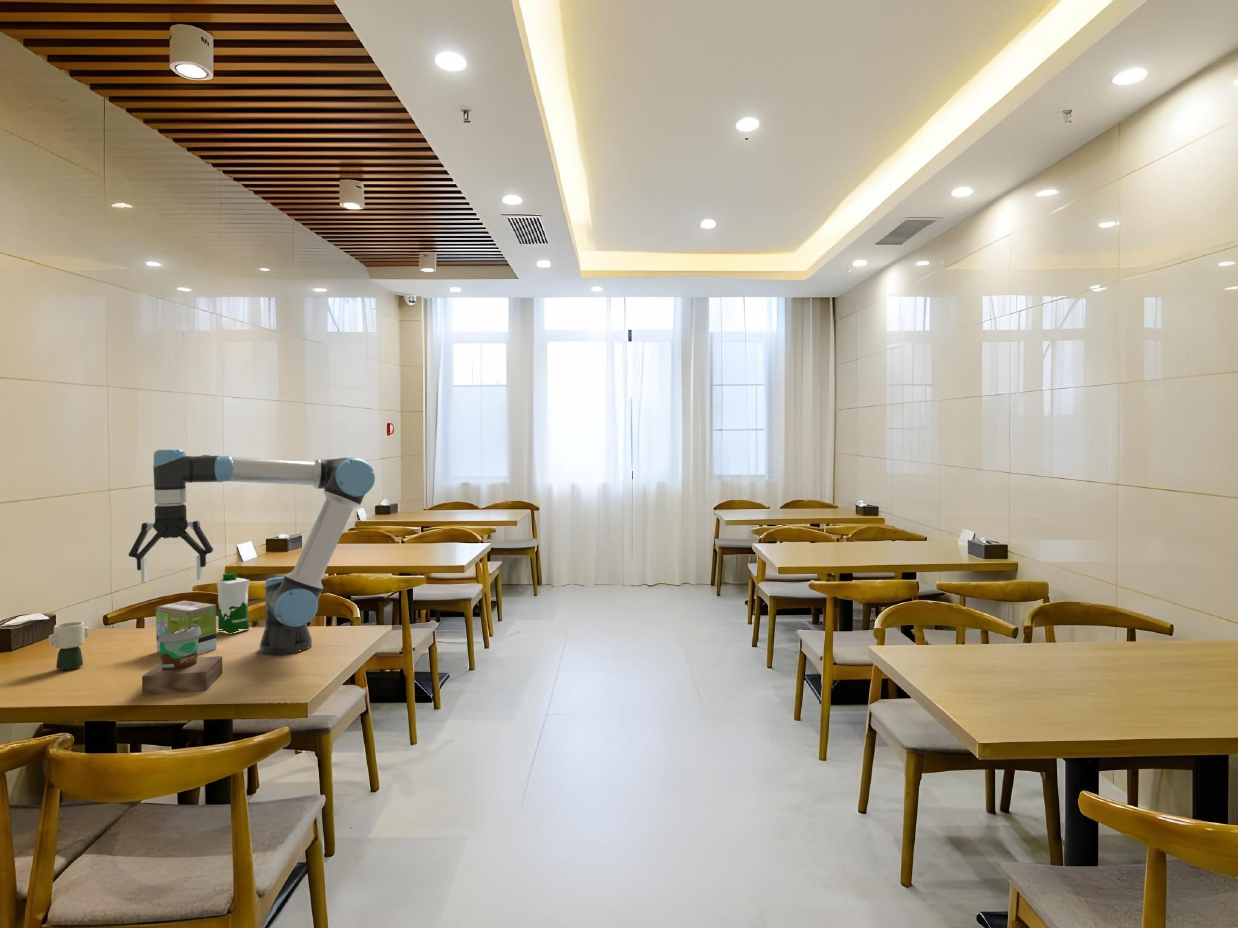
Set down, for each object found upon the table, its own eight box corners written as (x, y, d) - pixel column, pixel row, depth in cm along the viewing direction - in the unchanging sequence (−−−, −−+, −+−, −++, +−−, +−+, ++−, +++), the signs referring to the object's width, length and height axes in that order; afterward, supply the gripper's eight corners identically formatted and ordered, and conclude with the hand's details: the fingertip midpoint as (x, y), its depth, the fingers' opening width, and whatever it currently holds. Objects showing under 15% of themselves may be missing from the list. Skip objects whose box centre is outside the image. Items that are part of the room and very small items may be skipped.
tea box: (155, 652, 228) (154, 605, 228) (184, 644, 237) (184, 599, 237) (188, 657, 222) (188, 609, 222) (217, 649, 231) (217, 603, 231)
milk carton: (238, 627, 260) (237, 571, 260) (253, 630, 255) (252, 573, 255) (214, 632, 253) (213, 575, 252) (228, 635, 248) (227, 577, 247)
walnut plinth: (222, 673, 206) (222, 655, 206) (206, 690, 192) (206, 671, 192) (163, 677, 203) (162, 659, 203) (142, 695, 188) (142, 676, 188)
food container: (178, 673, 191) (177, 635, 190) (157, 671, 192) (157, 634, 191) (212, 659, 203) (211, 624, 202) (193, 658, 204) (192, 623, 204)
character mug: (80, 662, 218) (79, 619, 217) (97, 664, 215) (96, 620, 215) (41, 672, 207) (40, 627, 207) (58, 675, 205) (57, 629, 205)
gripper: (223, 502, 210) (225, 575, 210) (123, 504, 203) (125, 580, 203) (217, 504, 203) (218, 579, 203) (113, 507, 195) (115, 585, 196)
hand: (172, 580), depth 203 cm, fingers open, 13 cm apart
